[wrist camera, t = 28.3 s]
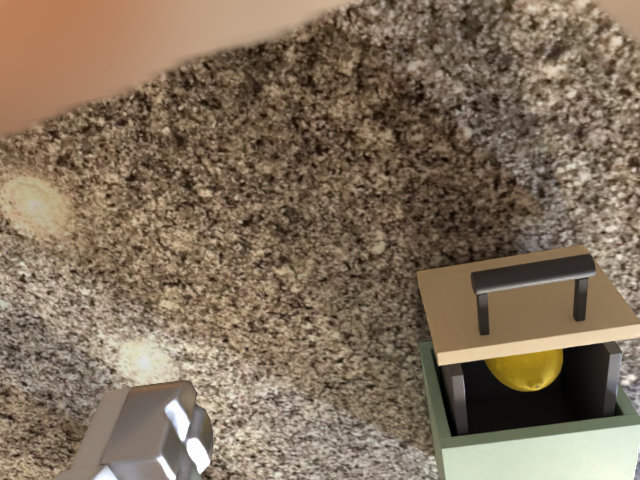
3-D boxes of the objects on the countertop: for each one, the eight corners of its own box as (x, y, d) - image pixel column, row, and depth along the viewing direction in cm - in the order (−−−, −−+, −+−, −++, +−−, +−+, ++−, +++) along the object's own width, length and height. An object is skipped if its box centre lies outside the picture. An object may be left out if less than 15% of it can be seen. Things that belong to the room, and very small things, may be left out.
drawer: (409, 218, 39) (429, 294, 32) (587, 187, 38) (652, 259, 31) (434, 403, 50) (453, 492, 43) (573, 384, 49) (619, 473, 41)
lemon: (550, 311, 43) (592, 393, 36) (485, 340, 45) (515, 423, 38) (522, 267, 40) (562, 347, 34) (455, 299, 42) (481, 381, 35)
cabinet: (418, 342, 47) (441, 448, 38) (580, 318, 46) (643, 423, 37) (435, 458, 56) (457, 567, 47) (571, 441, 55) (621, 550, 46)
